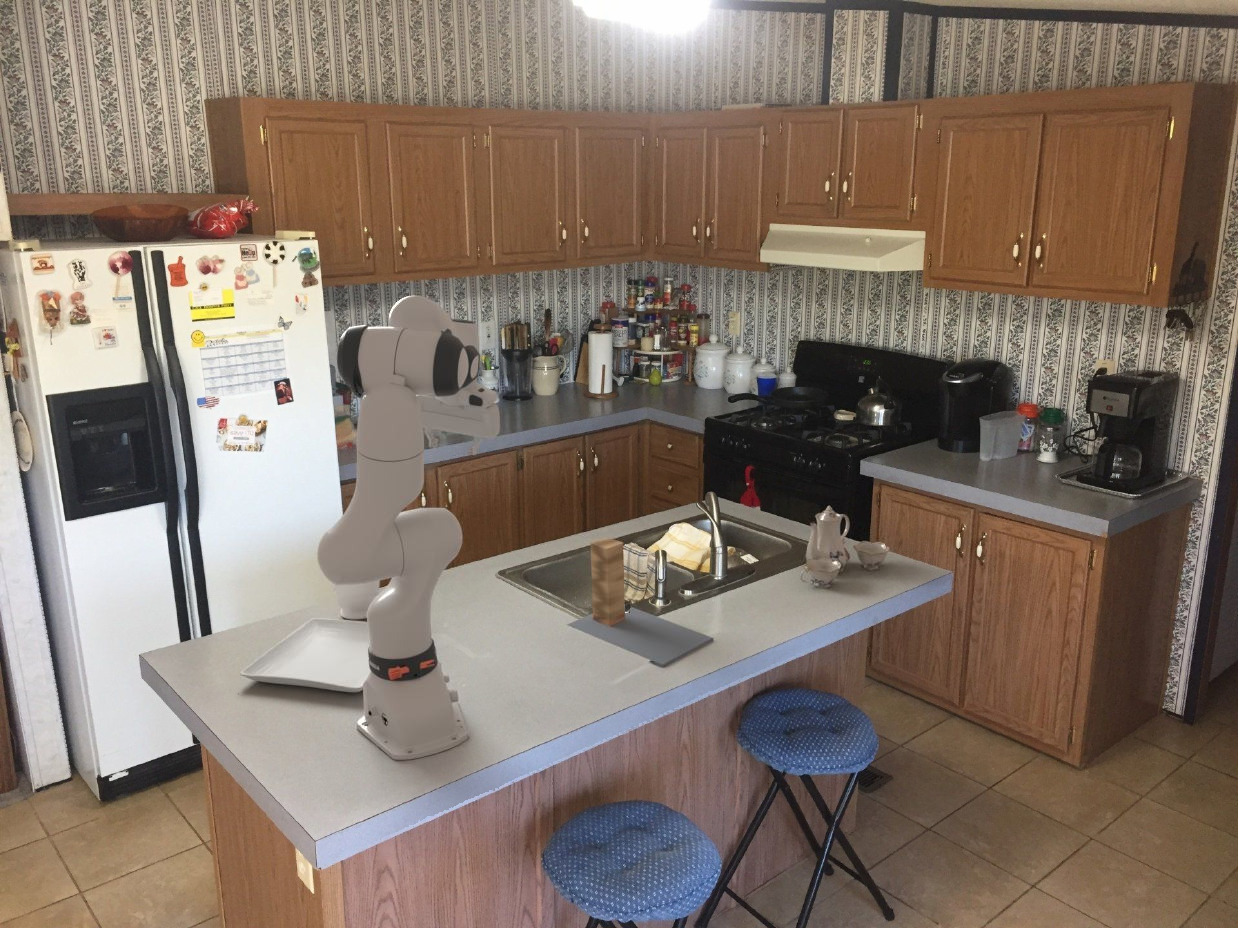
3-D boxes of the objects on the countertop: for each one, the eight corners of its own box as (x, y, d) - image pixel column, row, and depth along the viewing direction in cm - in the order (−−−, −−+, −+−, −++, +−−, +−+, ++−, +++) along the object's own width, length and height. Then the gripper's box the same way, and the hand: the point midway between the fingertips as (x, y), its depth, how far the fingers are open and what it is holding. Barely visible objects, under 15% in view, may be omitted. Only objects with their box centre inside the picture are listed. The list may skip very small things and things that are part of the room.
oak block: (593, 619, 225) (590, 543, 220) (609, 612, 228) (606, 537, 223) (609, 626, 221) (606, 548, 216) (625, 618, 225) (623, 542, 220)
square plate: (426, 642, 219) (424, 625, 217) (362, 705, 193) (360, 687, 192) (314, 629, 226) (312, 613, 225) (239, 689, 200) (236, 671, 199)
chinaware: (826, 603, 235) (835, 538, 229) (771, 576, 247) (778, 514, 241) (895, 570, 253) (905, 509, 247) (841, 547, 265) (849, 488, 259)
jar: (389, 603, 237) (383, 543, 233) (374, 622, 227) (368, 560, 223) (345, 602, 238) (338, 543, 234) (328, 621, 229) (321, 559, 224)
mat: (567, 627, 223) (567, 624, 223) (618, 604, 234) (617, 601, 234) (662, 667, 204) (662, 664, 204) (712, 640, 215) (712, 637, 215)
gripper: (405, 386, 222) (403, 446, 226) (494, 402, 218) (490, 462, 223) (417, 380, 228) (415, 438, 232) (504, 394, 224) (500, 453, 229)
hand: (453, 450), depth 227 cm, fingers open, 8 cm apart
